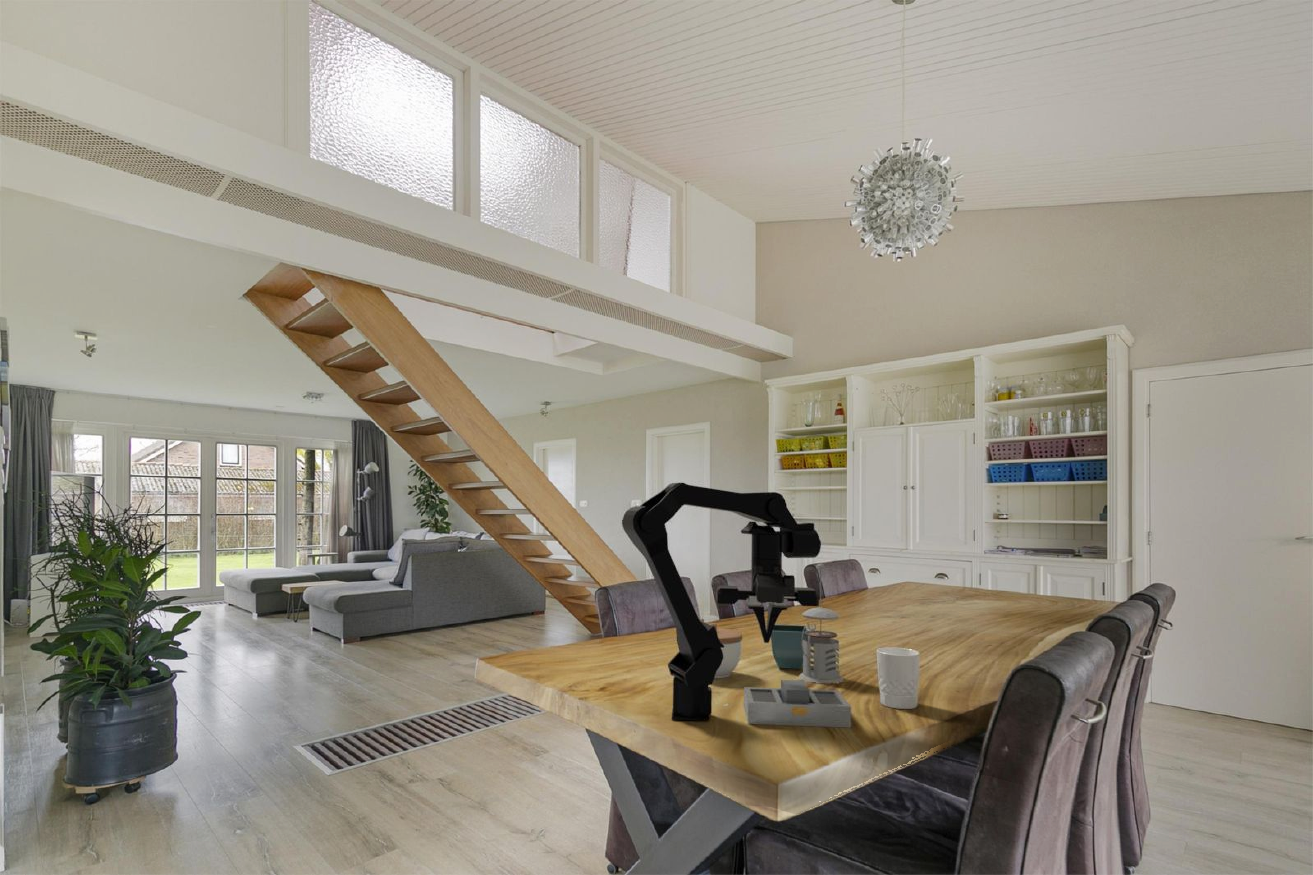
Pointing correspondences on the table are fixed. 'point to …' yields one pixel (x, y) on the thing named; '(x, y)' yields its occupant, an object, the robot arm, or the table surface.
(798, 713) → the rack
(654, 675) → the table surface
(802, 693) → the grey upright box
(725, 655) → the lidded bowl
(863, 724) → the table surface
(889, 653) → the white cup
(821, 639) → the french press
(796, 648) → the flower pot
